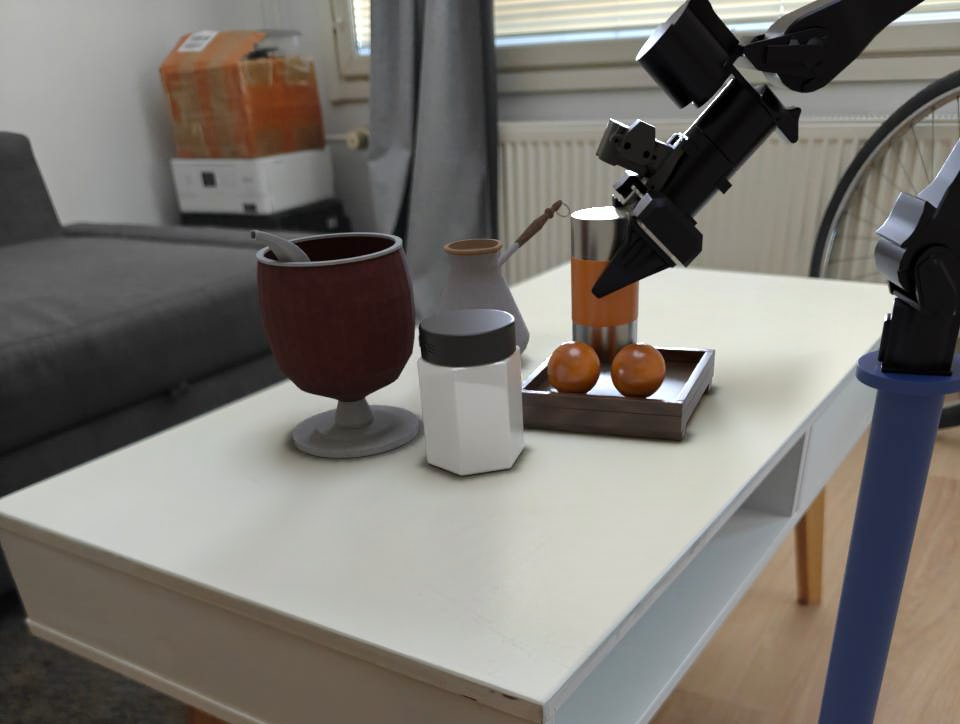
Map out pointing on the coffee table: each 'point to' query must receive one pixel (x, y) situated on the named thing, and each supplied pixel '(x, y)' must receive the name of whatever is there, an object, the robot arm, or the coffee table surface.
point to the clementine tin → (591, 250)
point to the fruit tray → (618, 390)
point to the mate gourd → (340, 333)
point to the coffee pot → (487, 275)
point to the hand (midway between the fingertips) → (590, 286)
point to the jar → (471, 390)
